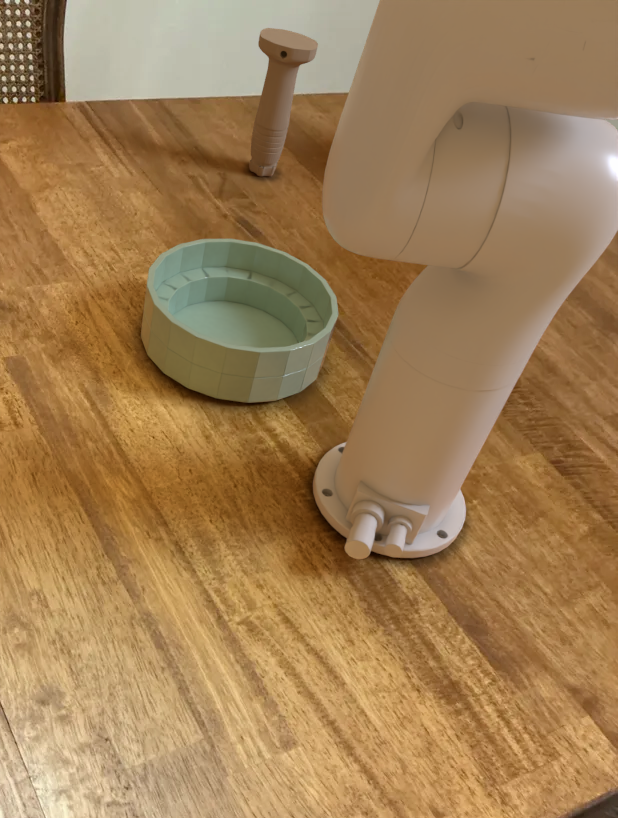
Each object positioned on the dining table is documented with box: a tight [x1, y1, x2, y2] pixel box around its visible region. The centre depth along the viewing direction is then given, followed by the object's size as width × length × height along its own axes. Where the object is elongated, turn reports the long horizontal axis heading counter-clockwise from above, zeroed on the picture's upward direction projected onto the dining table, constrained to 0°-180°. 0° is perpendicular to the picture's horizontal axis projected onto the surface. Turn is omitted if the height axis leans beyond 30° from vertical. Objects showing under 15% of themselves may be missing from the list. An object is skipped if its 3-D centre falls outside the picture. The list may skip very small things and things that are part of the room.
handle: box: [248, 27, 319, 178], centre depth 101 cm, size 5×6×15 cm
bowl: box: [140, 238, 339, 404], centre depth 80 cm, size 17×17×6 cm
